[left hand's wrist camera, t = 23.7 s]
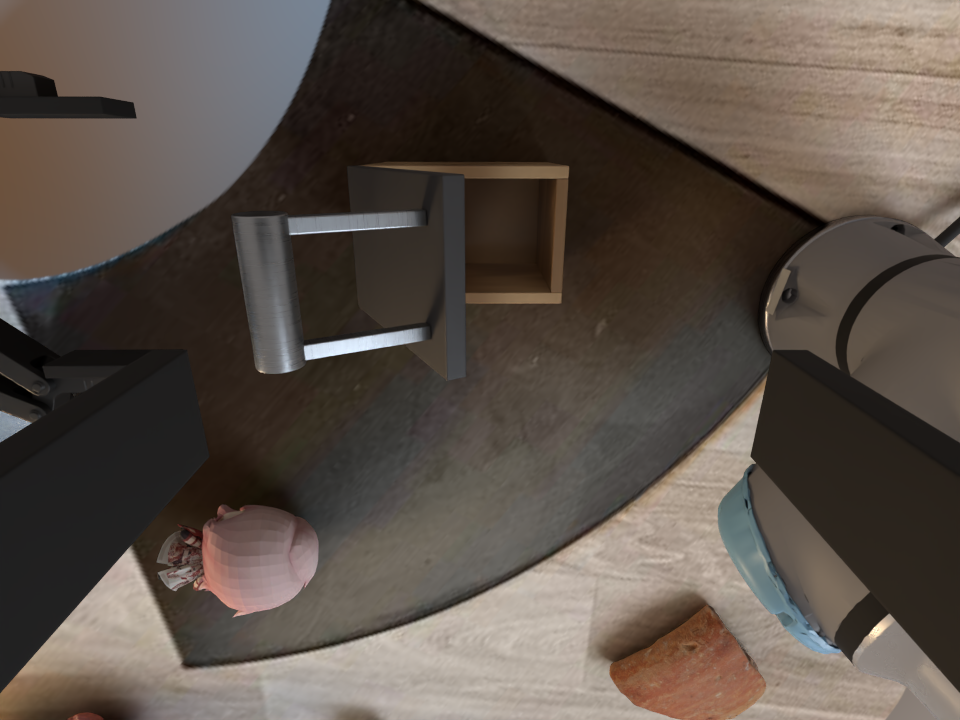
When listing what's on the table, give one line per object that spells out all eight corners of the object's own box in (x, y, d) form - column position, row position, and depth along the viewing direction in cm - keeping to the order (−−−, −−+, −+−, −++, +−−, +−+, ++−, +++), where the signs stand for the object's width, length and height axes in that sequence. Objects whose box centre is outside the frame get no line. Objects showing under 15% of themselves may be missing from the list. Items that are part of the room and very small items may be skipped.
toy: (207, 597, 60) (339, 594, 58) (138, 657, 49) (298, 654, 48) (197, 492, 59) (330, 486, 58) (126, 528, 48) (287, 523, 47)
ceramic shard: (685, 766, 64) (606, 683, 62) (678, 715, 70) (605, 638, 68) (802, 725, 59) (719, 633, 57) (783, 673, 64) (707, 588, 63)
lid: (465, 174, 22) (229, 178, 18) (467, 377, 25) (267, 418, 21) (362, 165, 34) (207, 167, 30) (372, 304, 37) (233, 322, 33)
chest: (548, 162, 45) (569, 165, 34) (543, 270, 48) (561, 303, 37) (385, 161, 45) (356, 165, 34) (391, 270, 48) (367, 303, 37)
